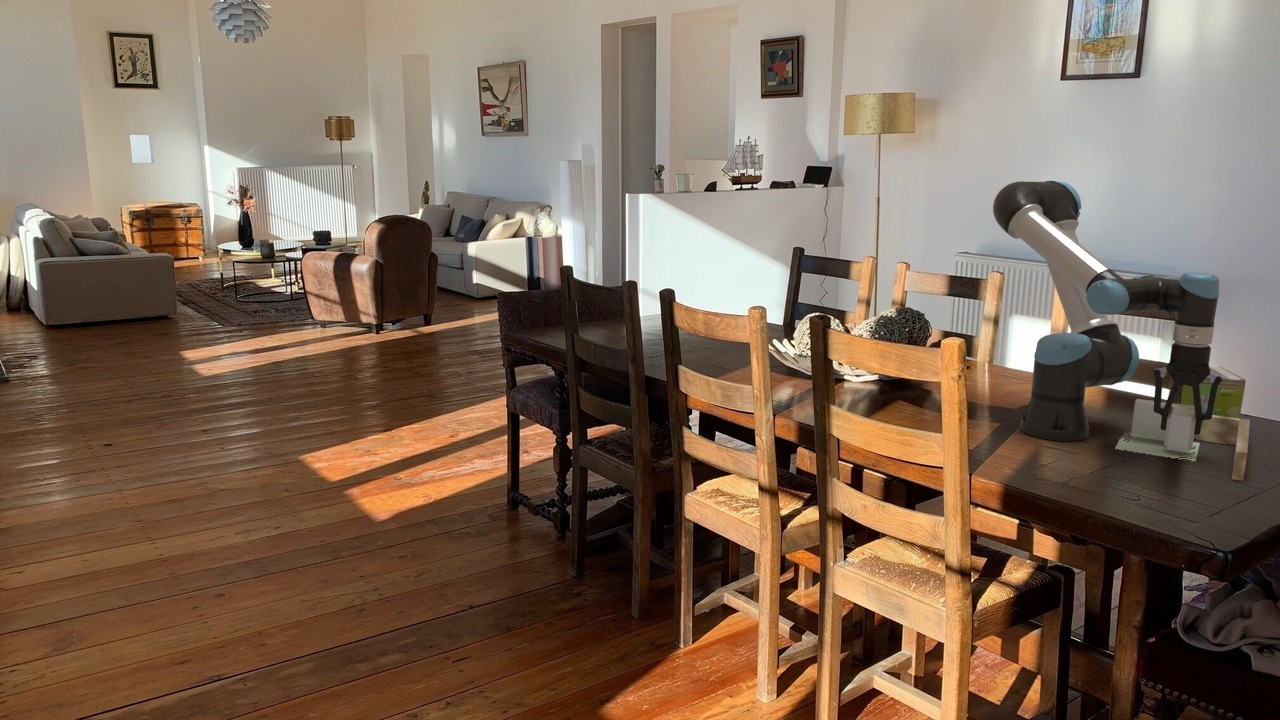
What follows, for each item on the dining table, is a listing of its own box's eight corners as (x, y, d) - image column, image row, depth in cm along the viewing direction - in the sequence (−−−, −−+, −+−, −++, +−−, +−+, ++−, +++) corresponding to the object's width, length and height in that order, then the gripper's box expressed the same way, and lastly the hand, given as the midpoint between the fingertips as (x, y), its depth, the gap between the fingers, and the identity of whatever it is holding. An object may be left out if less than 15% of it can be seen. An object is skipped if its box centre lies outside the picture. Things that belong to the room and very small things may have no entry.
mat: (1114, 449, 219) (1114, 448, 219) (1123, 432, 233) (1123, 431, 232) (1195, 462, 211) (1195, 461, 211) (1199, 443, 224) (1199, 443, 224)
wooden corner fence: (1135, 463, 209) (1138, 436, 208) (1149, 430, 234) (1152, 406, 233) (1243, 480, 199) (1247, 453, 198) (1245, 444, 224) (1249, 419, 222)
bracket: (1187, 452, 213) (1191, 417, 211) (1126, 443, 219) (1131, 409, 218) (1190, 439, 223) (1195, 406, 221) (1132, 431, 229) (1136, 398, 228)
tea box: (1238, 440, 227) (1247, 379, 224) (1191, 437, 229) (1200, 376, 226) (1214, 422, 242) (1223, 365, 239) (1171, 420, 244) (1178, 363, 241)
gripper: (1146, 342, 213) (1133, 444, 218) (1236, 351, 204) (1221, 457, 209) (1149, 336, 219) (1137, 436, 224) (1237, 345, 210) (1222, 448, 215)
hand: (1178, 446), depth 217 cm, fingers closed on bracket, 4 cm apart
